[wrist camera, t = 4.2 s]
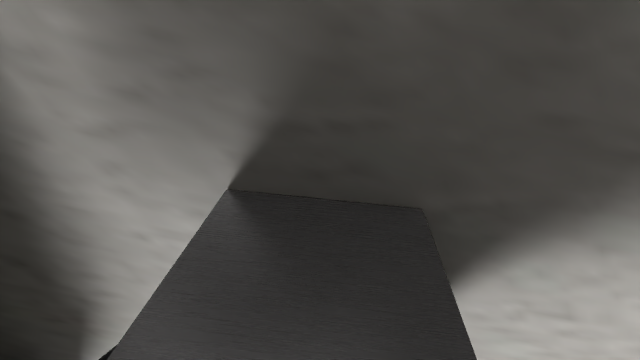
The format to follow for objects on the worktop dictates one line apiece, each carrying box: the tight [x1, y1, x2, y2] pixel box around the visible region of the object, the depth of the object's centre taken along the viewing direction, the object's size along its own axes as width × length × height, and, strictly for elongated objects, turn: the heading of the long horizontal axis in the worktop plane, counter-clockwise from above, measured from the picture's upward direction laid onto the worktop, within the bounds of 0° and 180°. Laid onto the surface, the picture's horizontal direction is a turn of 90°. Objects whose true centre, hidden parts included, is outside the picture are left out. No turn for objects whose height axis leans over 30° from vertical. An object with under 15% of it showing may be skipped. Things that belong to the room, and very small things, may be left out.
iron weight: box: [107, 190, 477, 360], centre depth 7 cm, size 5×5×5 cm
